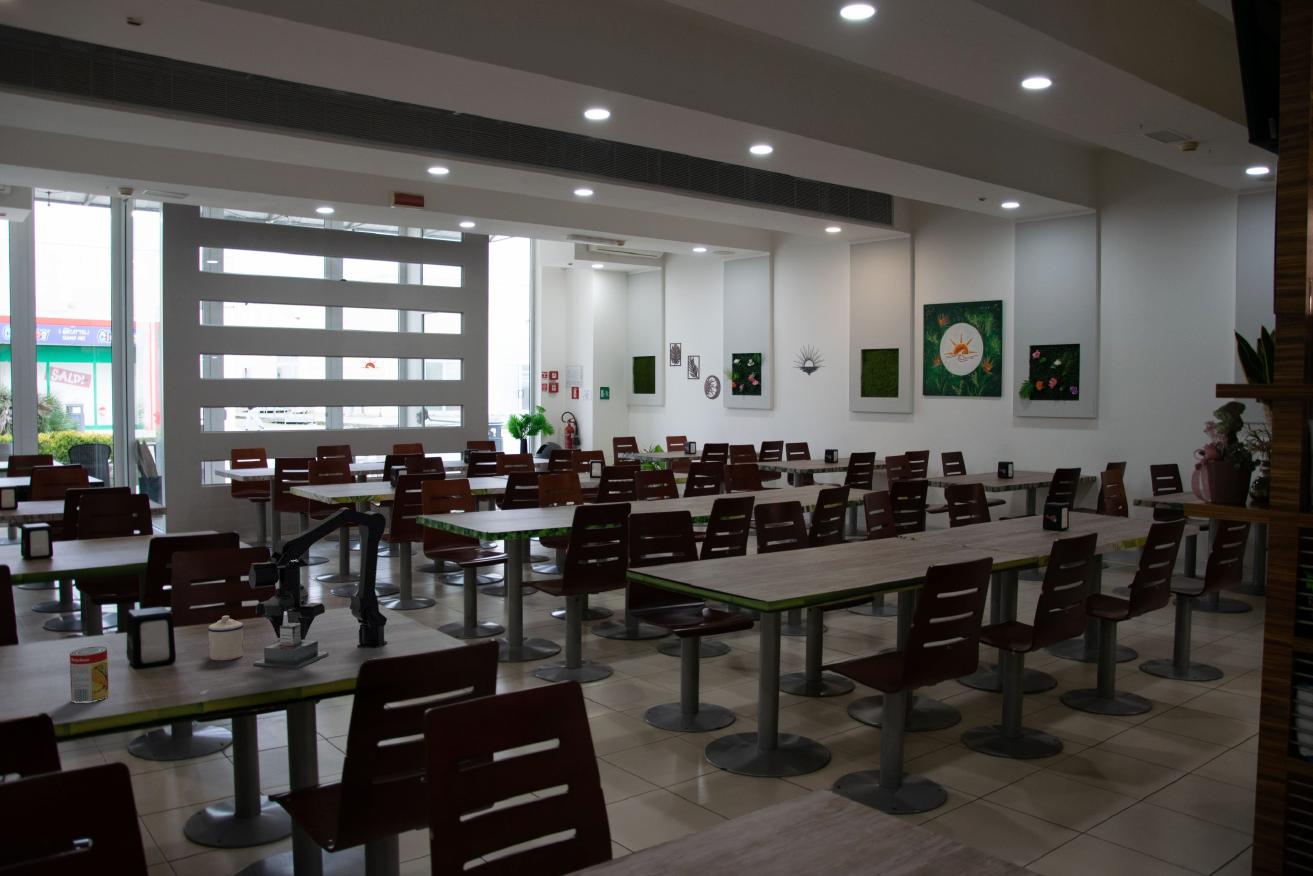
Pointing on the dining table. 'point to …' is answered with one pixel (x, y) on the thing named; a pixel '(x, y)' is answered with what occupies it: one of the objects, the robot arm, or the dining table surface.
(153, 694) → the dining table surface
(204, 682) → the dining table surface
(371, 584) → the robot arm
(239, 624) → the teacup with lid
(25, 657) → the dining table surface
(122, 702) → the dining table surface
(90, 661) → the canned food
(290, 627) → the column
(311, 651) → the base
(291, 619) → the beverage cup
